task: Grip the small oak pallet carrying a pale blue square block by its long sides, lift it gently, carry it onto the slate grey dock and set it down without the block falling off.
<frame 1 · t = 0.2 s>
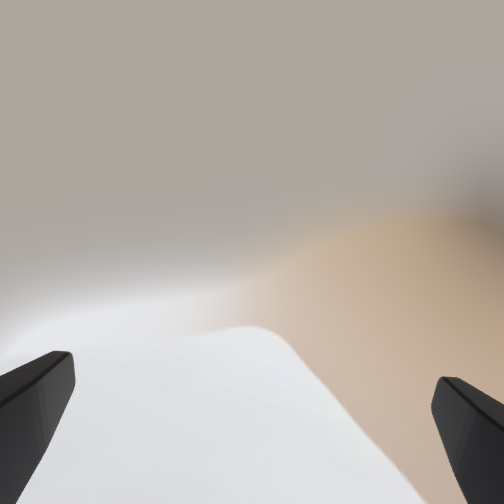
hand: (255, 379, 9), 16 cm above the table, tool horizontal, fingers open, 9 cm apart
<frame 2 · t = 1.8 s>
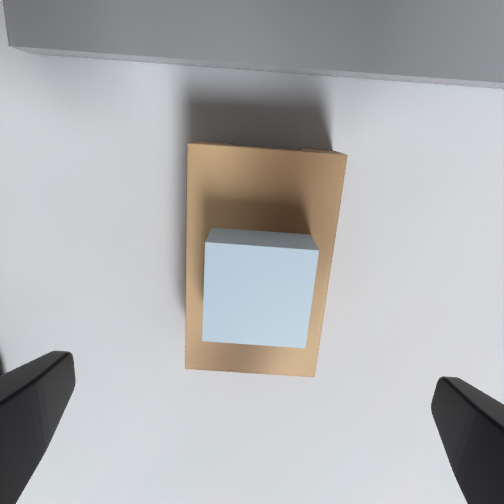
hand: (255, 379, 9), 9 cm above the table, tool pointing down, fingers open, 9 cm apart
pale blue square block: (257, 276, 15), point 3 cm above the table
oak pallet: (257, 250, 18), on the table
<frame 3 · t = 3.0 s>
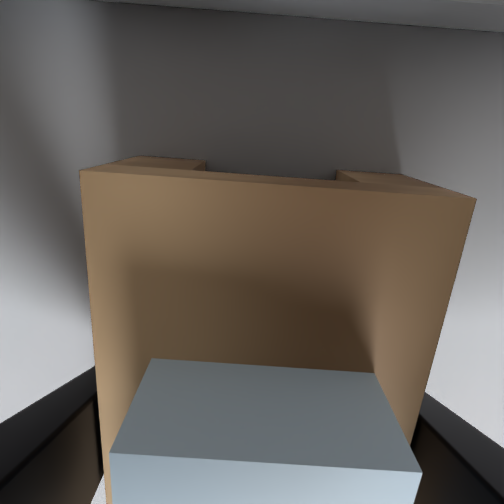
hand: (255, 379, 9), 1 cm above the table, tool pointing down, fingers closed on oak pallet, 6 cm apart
pale blue square block: (255, 451, 7), point 3 cm above the table, touching oak pallet
oak pallet: (255, 352, 10), on the table, touching pale blue square block, gripper
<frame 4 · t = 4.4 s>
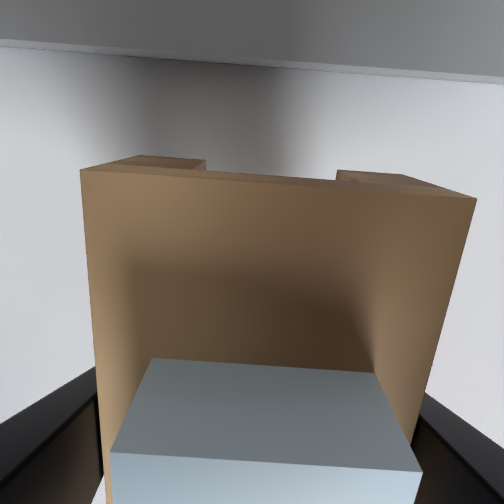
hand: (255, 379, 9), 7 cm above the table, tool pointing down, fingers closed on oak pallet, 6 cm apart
pale blue square block: (255, 451, 7), point 9 cm above the table, touching oak pallet
oak pallet: (255, 352, 10), point 6 cm above the table, touching pale blue square block, gripper
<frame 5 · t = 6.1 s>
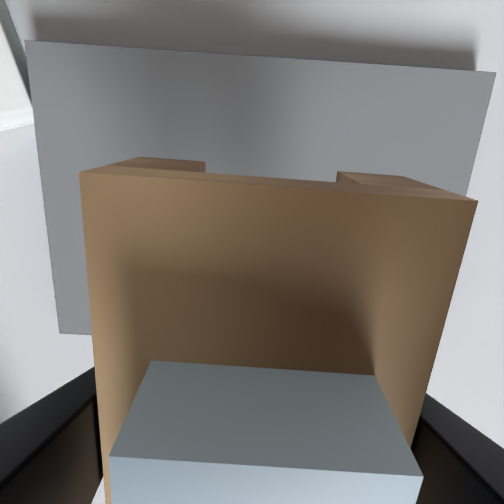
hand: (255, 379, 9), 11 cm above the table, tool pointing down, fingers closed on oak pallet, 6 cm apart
pale blue square block: (255, 453, 7), point 13 cm above the table, touching oak pallet
slate dock: (252, 211, 19), on the table
oak pallet: (255, 354, 10), point 10 cm above the table, touching pale blue square block, gripper
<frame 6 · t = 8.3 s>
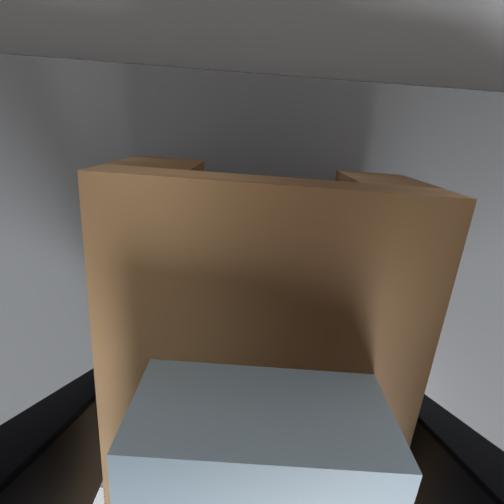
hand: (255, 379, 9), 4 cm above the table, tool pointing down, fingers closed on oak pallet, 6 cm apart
pale blue square block: (254, 452, 7), point 6 cm above the table, touching oak pallet
slate dock: (256, 305, 13), on the table
oak pallet: (254, 353, 10), point 3 cm above the table, touching pale blue square block, gripper
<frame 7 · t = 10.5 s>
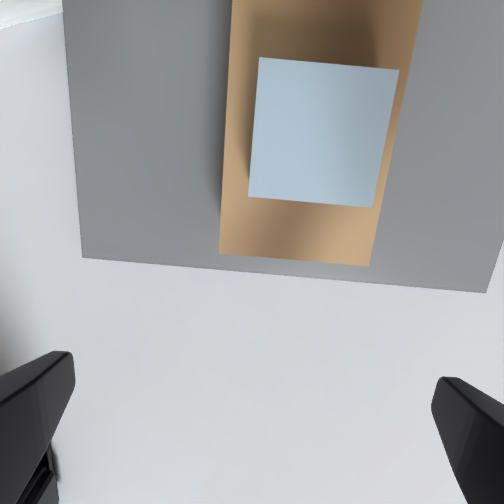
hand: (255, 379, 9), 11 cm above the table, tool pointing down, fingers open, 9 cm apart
pale blue square block: (310, 134, 13), point 4 cm above the table, touching oak pallet
slate dock: (299, 125, 17), on the table
oak pallet: (302, 126, 16), point 1 cm above the table, touching pale blue square block, slate dock
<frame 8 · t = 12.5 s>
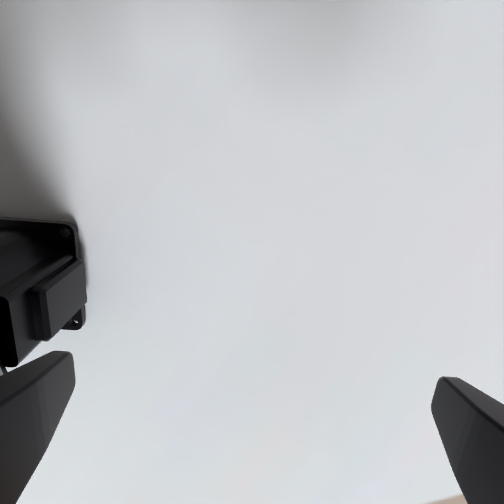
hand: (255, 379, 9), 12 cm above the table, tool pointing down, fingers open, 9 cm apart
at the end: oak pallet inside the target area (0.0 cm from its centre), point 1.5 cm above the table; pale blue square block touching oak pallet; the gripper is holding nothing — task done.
